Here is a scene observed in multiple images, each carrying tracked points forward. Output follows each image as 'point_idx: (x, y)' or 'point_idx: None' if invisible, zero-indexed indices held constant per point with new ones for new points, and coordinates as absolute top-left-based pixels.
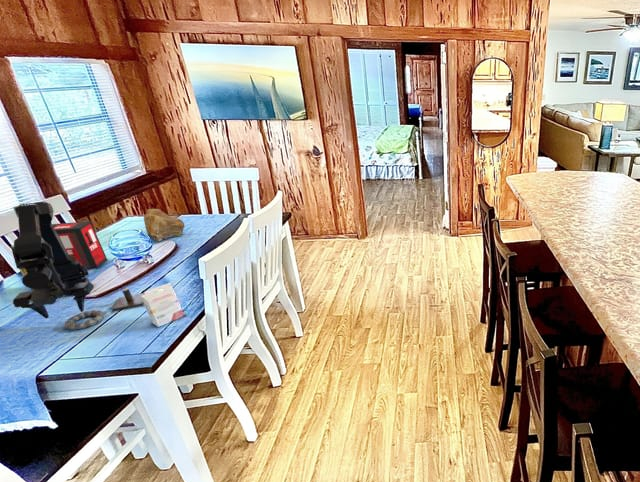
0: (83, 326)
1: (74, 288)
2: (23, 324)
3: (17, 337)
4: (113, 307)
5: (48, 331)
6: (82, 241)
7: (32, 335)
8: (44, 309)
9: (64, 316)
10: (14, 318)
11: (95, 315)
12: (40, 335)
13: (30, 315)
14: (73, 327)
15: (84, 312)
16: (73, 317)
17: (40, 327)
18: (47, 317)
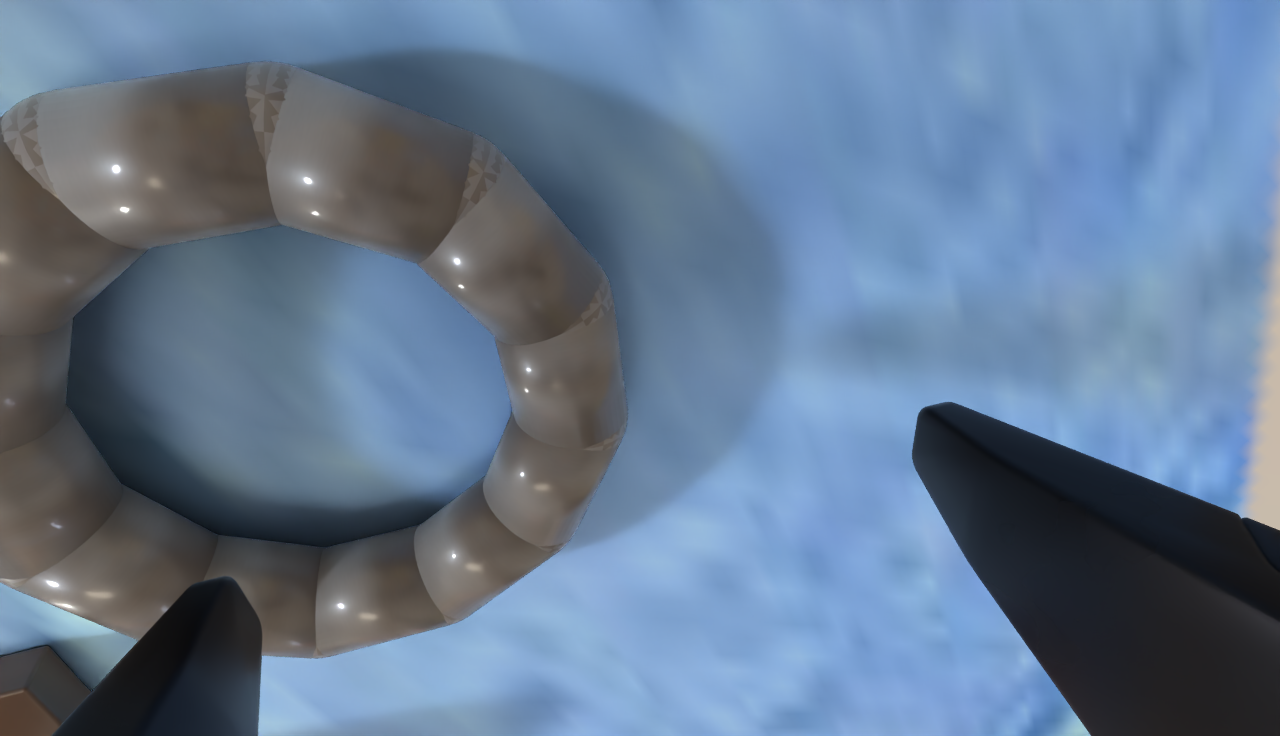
0: (53, 93)
1: None
2: (1137, 462)
3: (1198, 141)
4: (45, 724)
5: (834, 204)
6: None
7: (1029, 137)
8: (1077, 643)
9: (762, 568)
10: None
11: (238, 542)
12: (920, 90)
13: None
14: (286, 80)
15: (430, 609)
16: (539, 486)
17: (966, 359)
18: (930, 423)
